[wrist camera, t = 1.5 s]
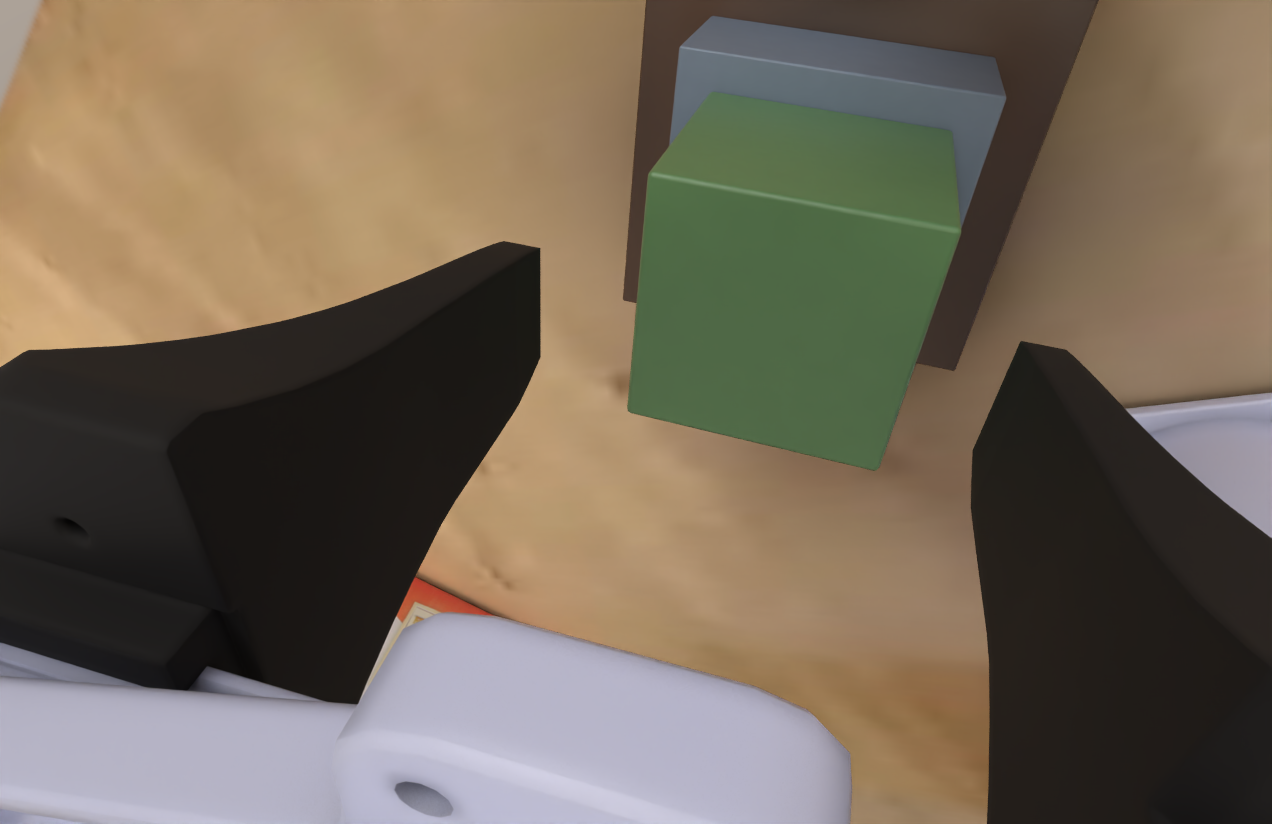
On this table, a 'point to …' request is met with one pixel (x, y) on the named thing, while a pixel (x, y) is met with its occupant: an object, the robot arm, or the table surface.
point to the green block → (791, 274)
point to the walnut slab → (914, 15)
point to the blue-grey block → (847, 82)
